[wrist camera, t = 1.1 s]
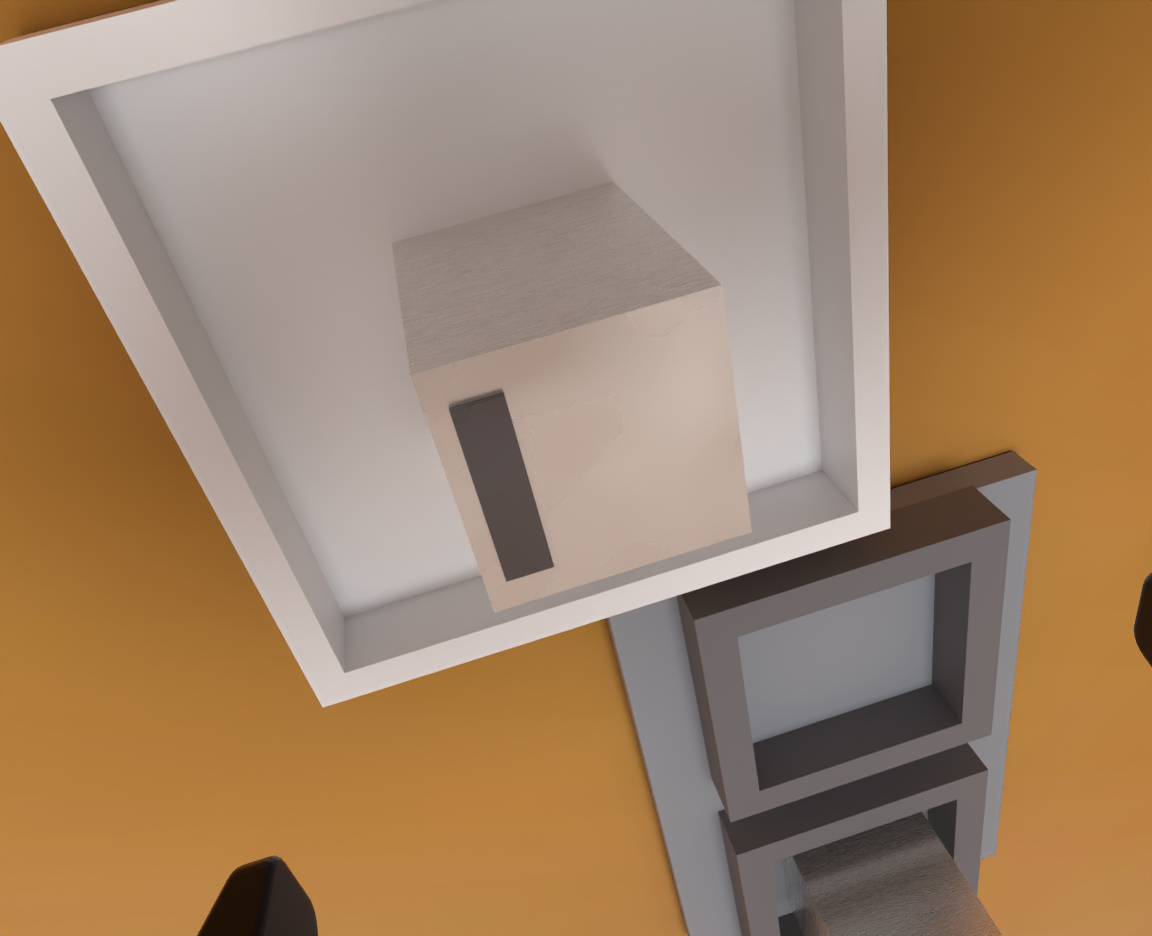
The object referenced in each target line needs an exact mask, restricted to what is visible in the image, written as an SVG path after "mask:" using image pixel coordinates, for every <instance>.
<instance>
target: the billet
mask: <svg viewBox="0 0 1152 936" xmlns="http://www.w3.org/2000/svg"><path fill="white" fill-rule="evenodd" d="M783 866H784V874H785V882H786V889H787V897H788V901H789V904H790V906H791V908H792V910H793V912H794V915H795V917H796V919H797V921H798V923H799V926H800V928H801V930H802V932H803V934H804V936H1002V934H1001V933H1000V931H999V930H998V928H997V927H996V925H995V924H994V922H993V920H992V919H991V917H990V916H989V914H988V913H987V911H986V910H985V908H984V907H983V905H982V904H981V902H980V900H979V899H978V897H977V896H976V894H975V893H974V891H973V890H972V888H971V887H970V885H969V884H968V882H967V880H966V879H965V877H964V876H963V874H962V873H961V871H960V870H959V868H958V867H957V865H956V864H955V862H954V861H953V859H952V857H951V856H950V854H949V853H948V851H947V850H946V848H945V847H944V845H943V844H942V842H941V841H940V839H939V837H938V836H937V834H936V833H935V831H934V830H933V828H932V827H931V825H930V824H929V822H928V821H927V819H926V817H925V816H924V814H923V813H922V812H919V813H916V814H913V815H910V816H907V817H904V818H901V819H898V820H896V821H893V822H890V823H887V824H884V825H881V826H878V827H875V828H872V829H869V830H866V831H863V832H860V833H858V834H855V835H852V836H849V837H846V838H843V839H840V840H837V841H834V842H831V843H828V844H825V845H822V846H820V847H817V848H814V849H811V850H808V851H805V852H802V853H799V854H796V855H793V856H790V857H787V858H784V859H783Z"/></svg>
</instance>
